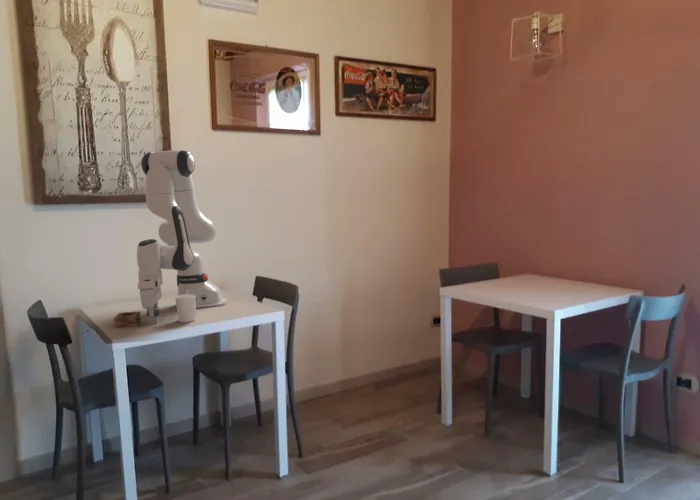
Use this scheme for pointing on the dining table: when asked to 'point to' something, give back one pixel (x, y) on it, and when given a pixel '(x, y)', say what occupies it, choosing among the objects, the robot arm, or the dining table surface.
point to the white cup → (186, 307)
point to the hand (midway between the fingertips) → (153, 314)
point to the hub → (127, 319)
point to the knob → (155, 317)
